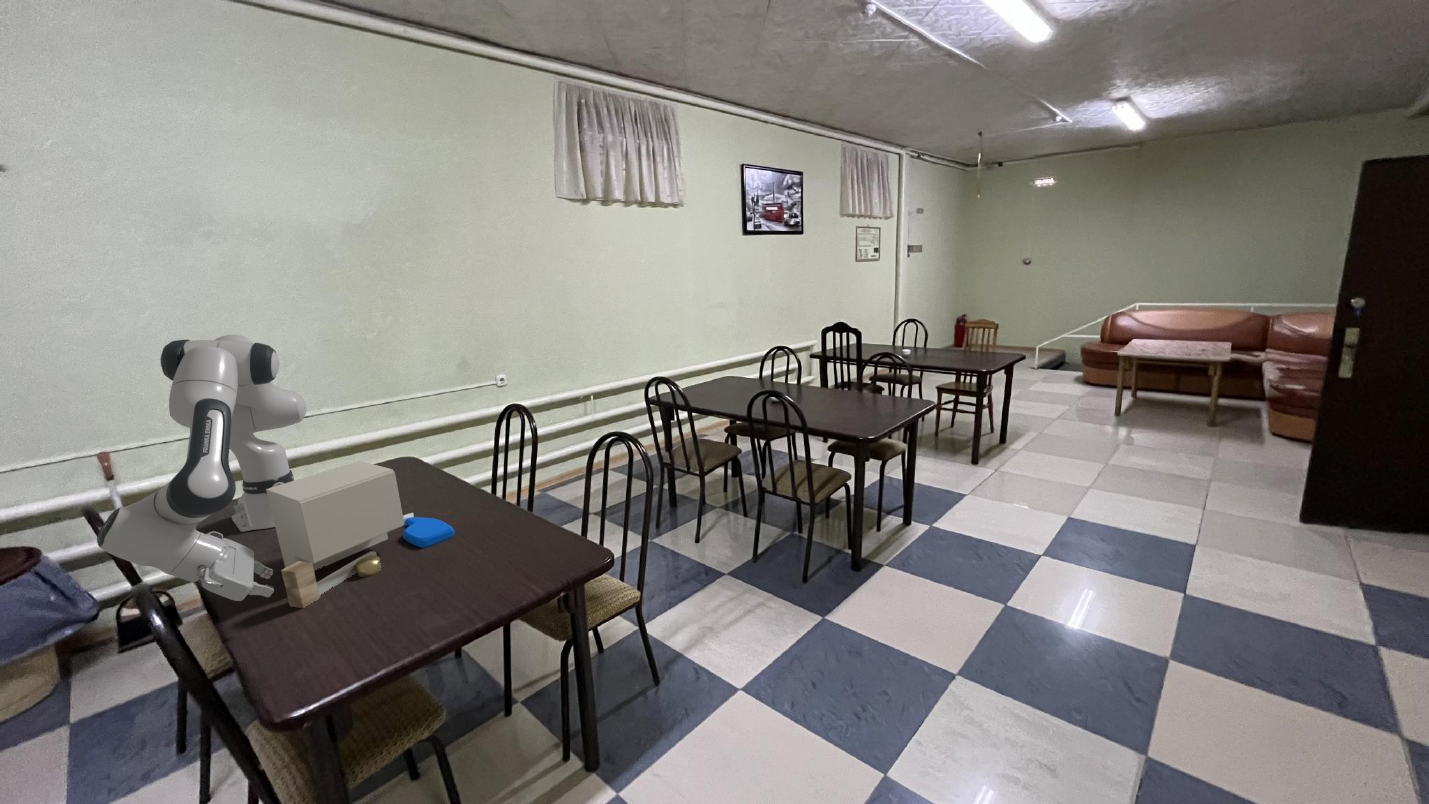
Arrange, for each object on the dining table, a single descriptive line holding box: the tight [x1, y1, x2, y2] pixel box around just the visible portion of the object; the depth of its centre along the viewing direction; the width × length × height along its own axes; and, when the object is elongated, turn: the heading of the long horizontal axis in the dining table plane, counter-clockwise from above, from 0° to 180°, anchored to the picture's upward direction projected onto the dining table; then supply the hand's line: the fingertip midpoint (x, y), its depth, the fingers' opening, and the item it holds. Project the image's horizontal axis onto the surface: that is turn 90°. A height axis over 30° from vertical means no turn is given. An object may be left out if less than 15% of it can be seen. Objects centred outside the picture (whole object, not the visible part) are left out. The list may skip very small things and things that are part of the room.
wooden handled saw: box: [280, 550, 378, 609], centre depth 134 cm, size 4×21×9 cm, turn 164°
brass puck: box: [356, 555, 382, 578], centre depth 139 cm, size 5×5×3 cm
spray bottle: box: [402, 512, 455, 549], centre depth 161 cm, size 3×11×24 cm
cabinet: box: [266, 460, 405, 572], centre depth 144 cm, size 17×22×22 cm
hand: (271, 583), depth 123 cm, fingers open, 8 cm apart
